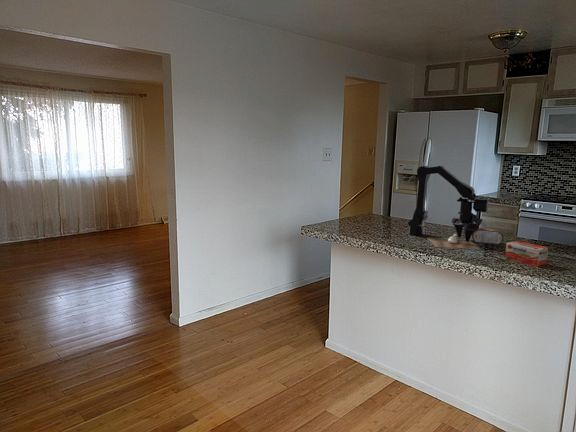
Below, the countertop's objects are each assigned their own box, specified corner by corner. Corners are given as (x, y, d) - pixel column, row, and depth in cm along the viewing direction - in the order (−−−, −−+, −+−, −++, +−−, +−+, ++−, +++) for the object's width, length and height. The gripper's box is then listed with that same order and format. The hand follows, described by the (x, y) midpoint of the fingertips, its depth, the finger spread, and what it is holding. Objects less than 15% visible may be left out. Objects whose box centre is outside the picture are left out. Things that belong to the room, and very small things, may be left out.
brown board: (434, 249, 207) (435, 246, 207) (426, 239, 227) (426, 237, 227) (480, 251, 205) (480, 248, 205) (467, 241, 225) (468, 238, 224)
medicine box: (503, 258, 193) (505, 242, 192) (513, 256, 197) (515, 240, 196) (536, 267, 180) (539, 249, 179) (546, 265, 185) (549, 247, 183)
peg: (456, 243, 213) (456, 238, 212) (447, 242, 215) (447, 237, 214) (459, 239, 223) (460, 234, 223) (450, 238, 225) (451, 233, 225)
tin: (501, 245, 218) (503, 229, 216) (502, 246, 215) (504, 231, 213) (470, 242, 223) (472, 227, 221) (471, 243, 220) (473, 228, 218)
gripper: (490, 213, 207) (487, 244, 210) (472, 207, 226) (470, 235, 228) (468, 213, 207) (465, 244, 210) (452, 207, 225) (450, 235, 228)
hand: (463, 239), depth 219 cm, fingers open, 9 cm apart
